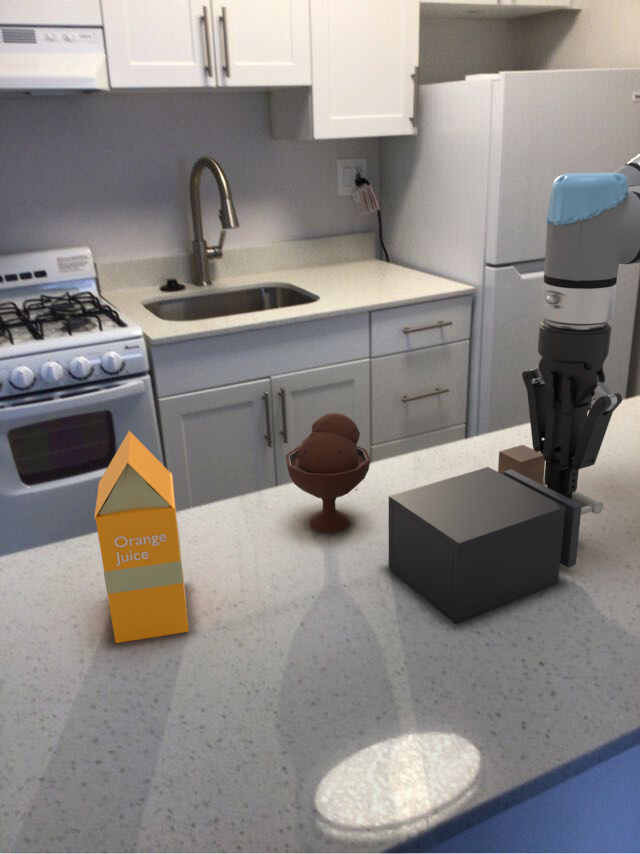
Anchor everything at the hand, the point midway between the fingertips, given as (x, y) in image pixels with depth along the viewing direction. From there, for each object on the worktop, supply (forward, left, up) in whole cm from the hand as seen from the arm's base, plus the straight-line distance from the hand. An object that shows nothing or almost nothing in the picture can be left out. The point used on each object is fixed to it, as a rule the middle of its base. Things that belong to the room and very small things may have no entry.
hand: (557, 512), depth 91 cm
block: (-1, -18, -4) cm, 18 cm away
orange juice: (+47, +11, -5) cm, 49 cm away
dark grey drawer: (+5, +3, -4) cm, 7 cm away
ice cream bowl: (+27, -8, -5) cm, 29 cm away
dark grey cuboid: (+11, +6, -4) cm, 14 cm away
